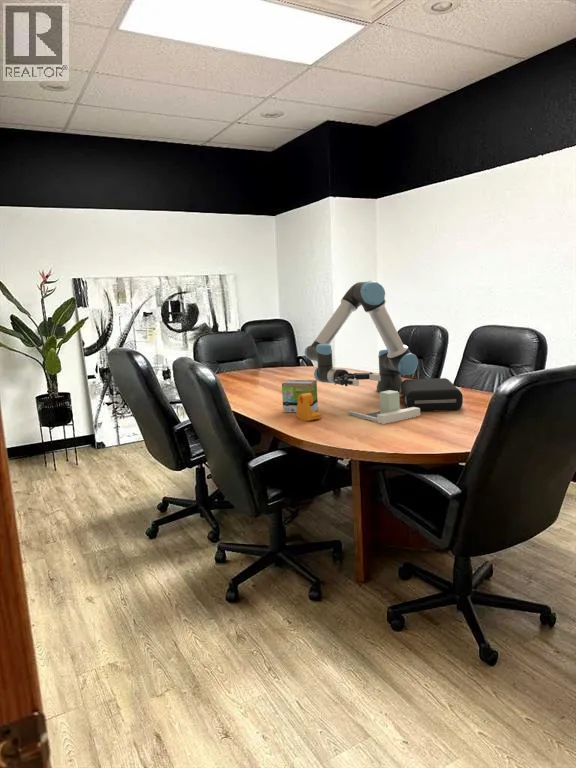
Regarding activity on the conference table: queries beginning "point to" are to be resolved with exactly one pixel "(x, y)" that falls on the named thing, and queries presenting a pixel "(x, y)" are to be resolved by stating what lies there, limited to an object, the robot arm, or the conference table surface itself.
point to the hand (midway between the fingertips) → (369, 380)
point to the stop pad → (373, 414)
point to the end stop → (398, 415)
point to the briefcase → (431, 394)
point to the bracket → (306, 408)
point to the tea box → (298, 393)
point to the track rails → (363, 416)
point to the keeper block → (389, 401)
